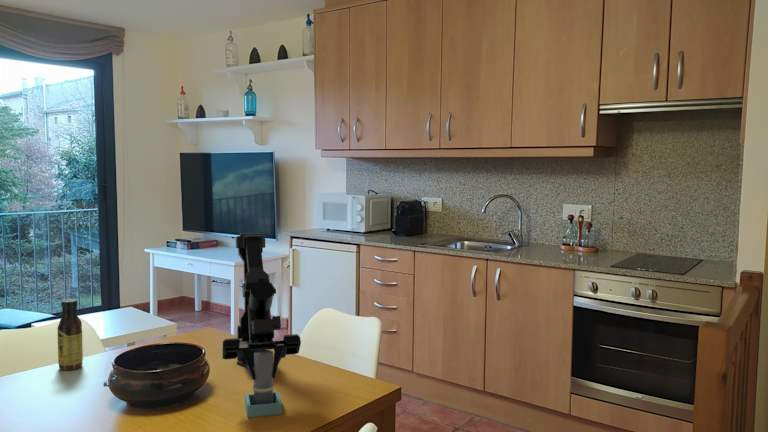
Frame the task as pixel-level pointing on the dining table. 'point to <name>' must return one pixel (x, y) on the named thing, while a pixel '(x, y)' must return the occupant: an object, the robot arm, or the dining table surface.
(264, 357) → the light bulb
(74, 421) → the dining table surface
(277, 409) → the frame
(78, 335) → the sauce bottle
